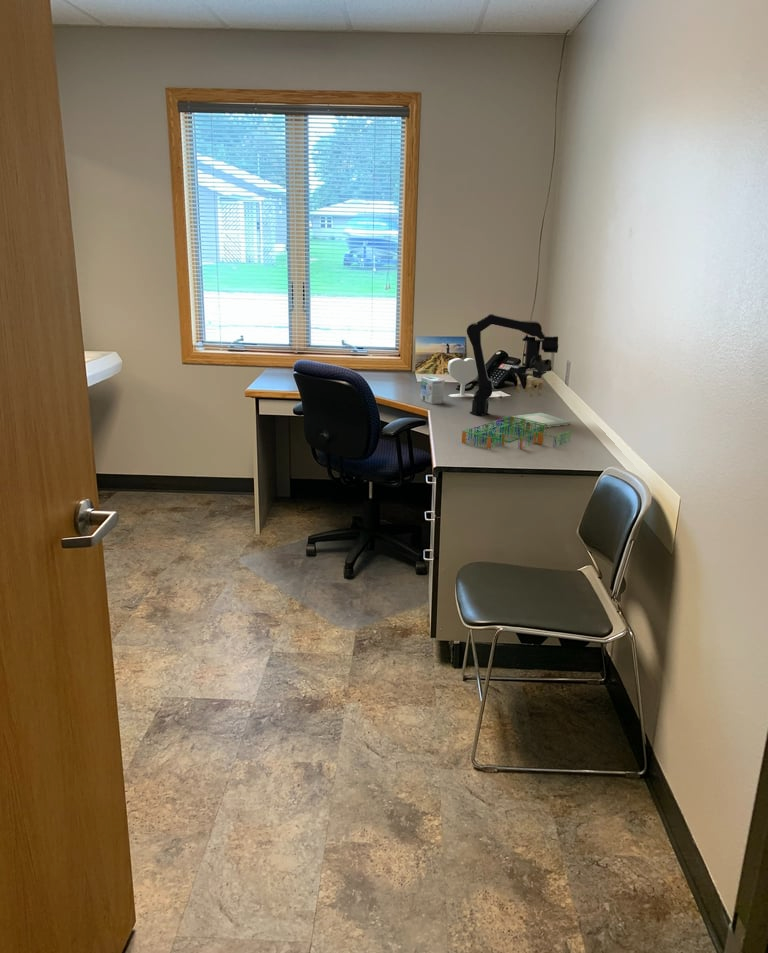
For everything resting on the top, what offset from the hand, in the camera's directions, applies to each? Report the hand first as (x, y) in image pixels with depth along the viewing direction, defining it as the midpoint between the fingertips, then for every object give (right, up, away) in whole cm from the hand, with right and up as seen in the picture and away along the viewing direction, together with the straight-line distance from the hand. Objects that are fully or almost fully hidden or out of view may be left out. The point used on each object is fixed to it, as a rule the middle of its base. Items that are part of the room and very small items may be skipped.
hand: (529, 388), depth 320 cm
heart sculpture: (-24, +1, +43) cm, 50 cm away
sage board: (+3, -15, -4) cm, 16 cm away
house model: (-11, -25, -34) cm, 43 cm away
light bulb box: (-40, -3, +29) cm, 50 cm away
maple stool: (0, -2, +1) cm, 2 cm away
